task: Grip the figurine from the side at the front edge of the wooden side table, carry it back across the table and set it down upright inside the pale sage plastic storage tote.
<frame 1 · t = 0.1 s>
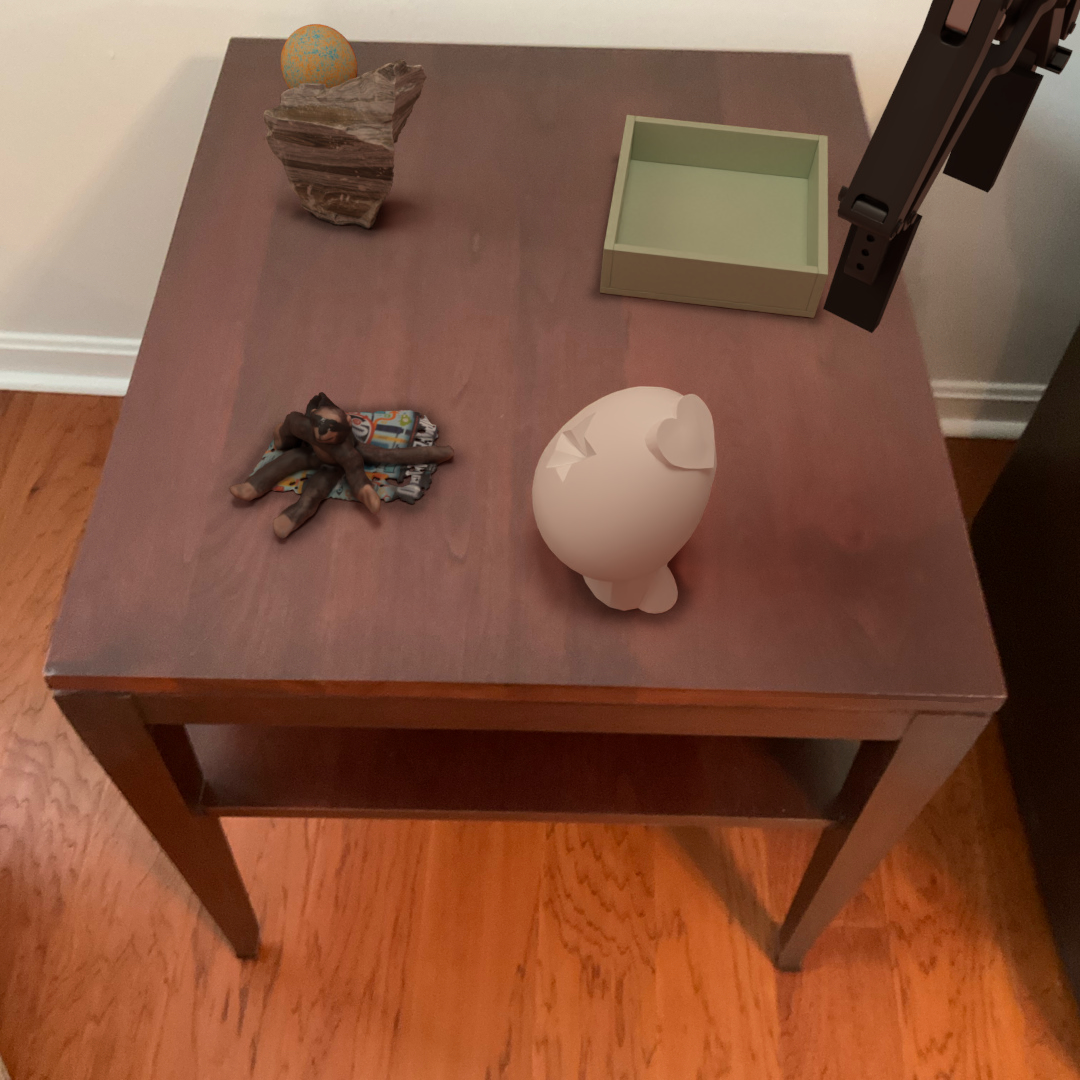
hand: (912, 244, 53), 24 cm above the table, tool pointing down, fingers open, 13 cm apart
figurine: (611, 549, 71), on the table
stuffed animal: (343, 472, 74), on the table
tote: (712, 234, 89), on the table
rock: (358, 211, 90), on the table
ball: (325, 101, 99), on the table
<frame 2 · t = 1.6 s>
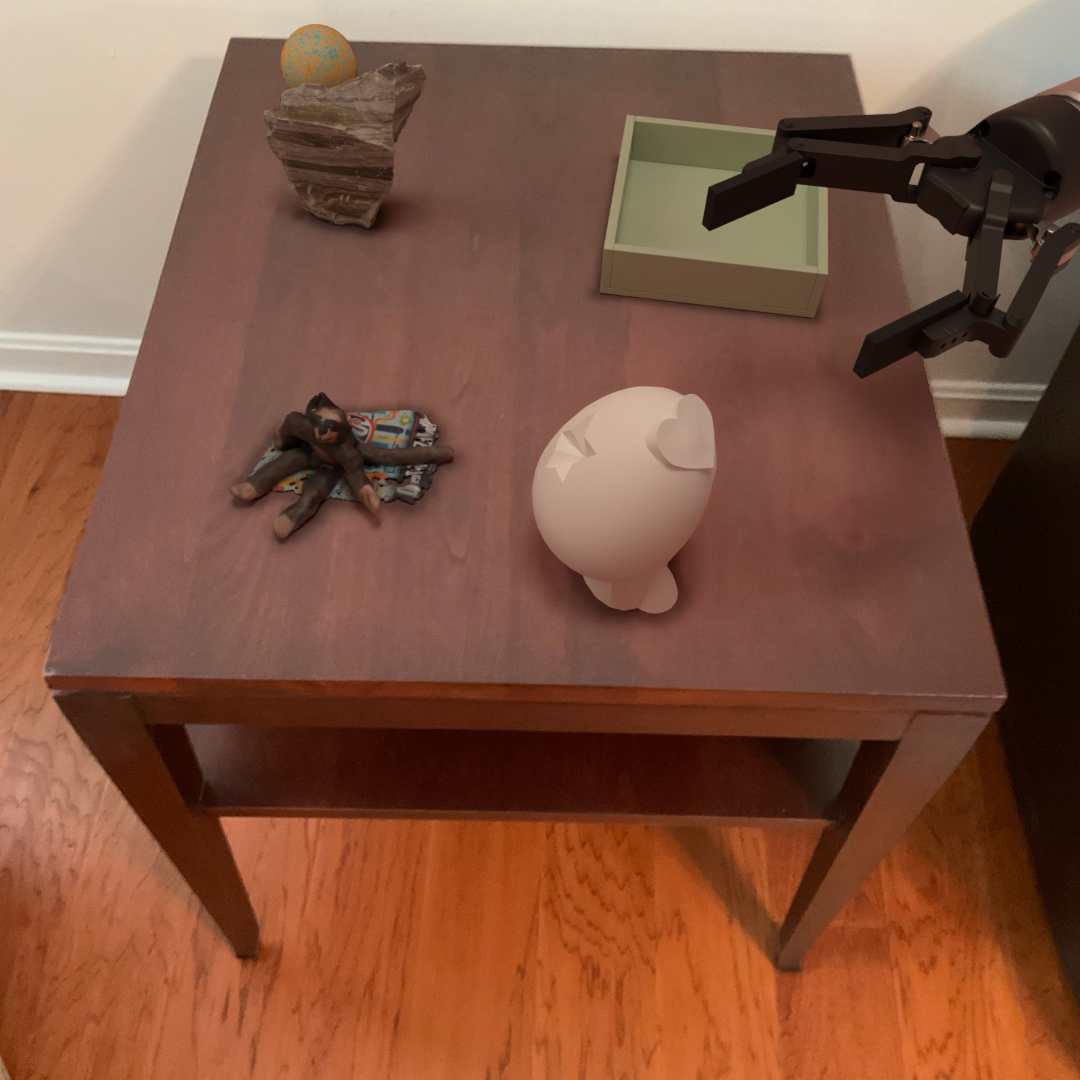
hand: (781, 279, 57), 20 cm above the table, tool horizontal, fingers open, 13 cm apart
nothing on the table moved.
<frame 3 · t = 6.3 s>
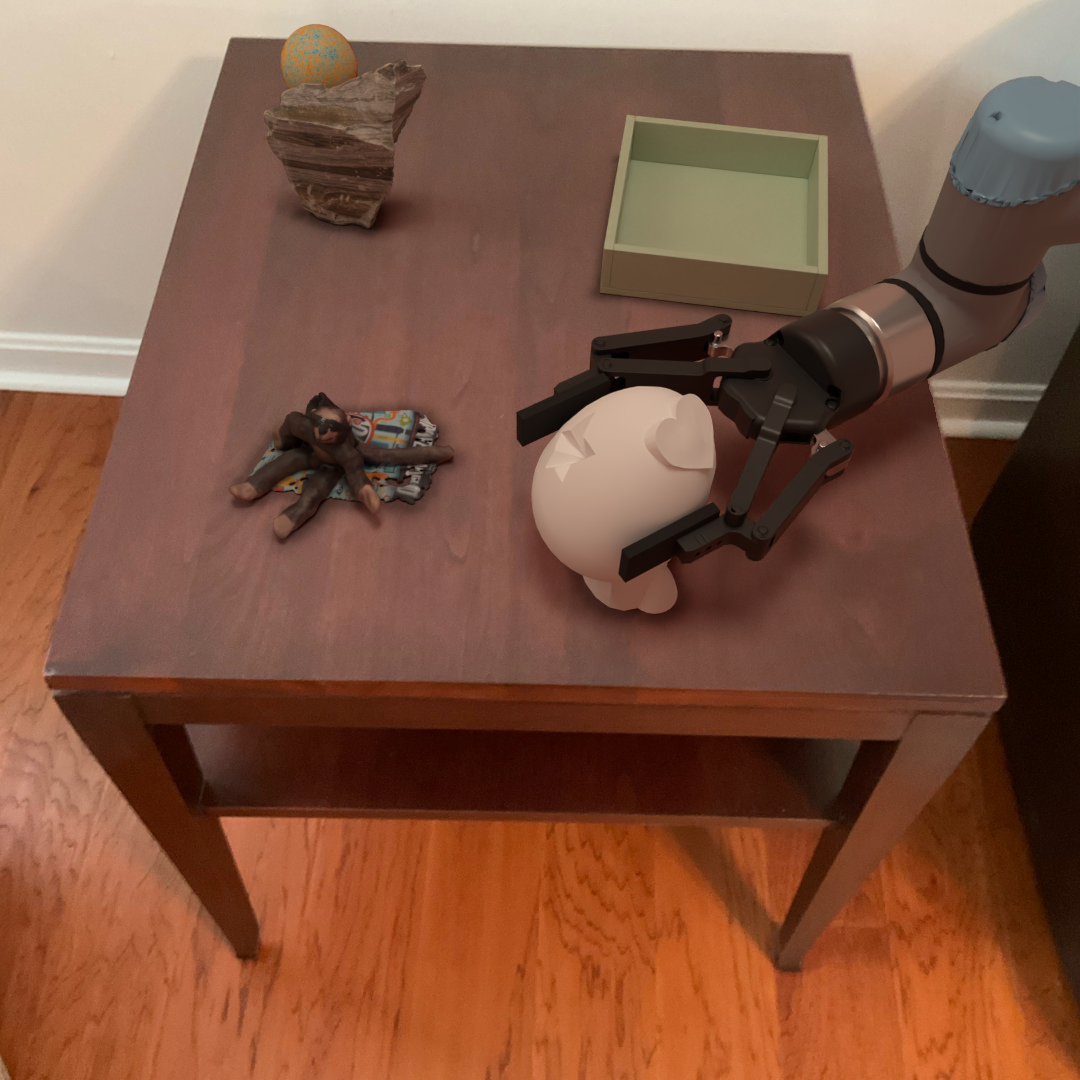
hand: (568, 495, 62), 9 cm above the table, tool horizontal, fingers closed on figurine, 11 cm apart
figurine: (611, 549, 71), on the table, touching gripper
everything else where it was.
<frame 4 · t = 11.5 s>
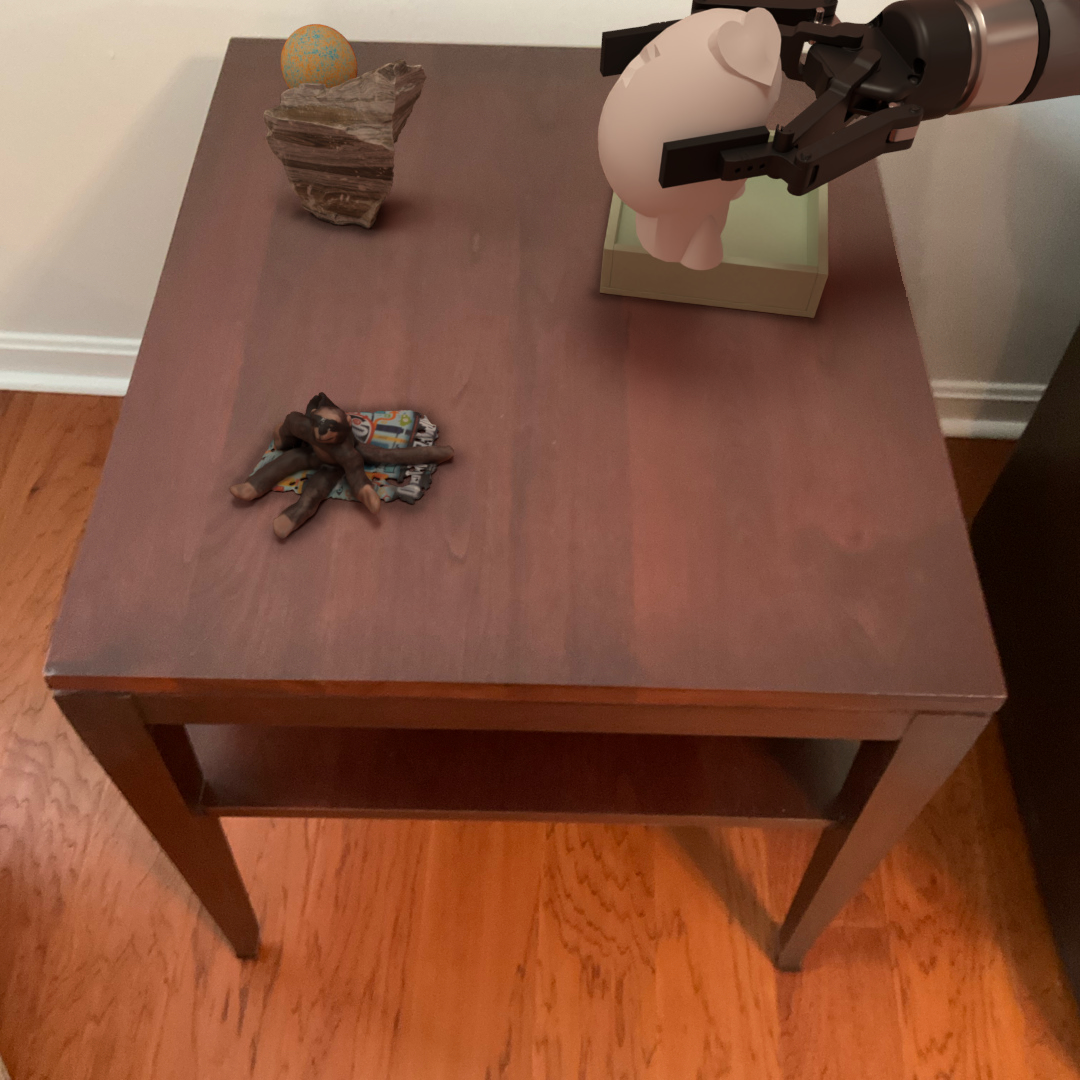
hand: (630, 107, 65), 21 cm above the table, tool horizontal, fingers closed on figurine, 11 cm apart
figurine: (671, 215, 73), point 11 cm above the table, touching gripper
everything else where it was.
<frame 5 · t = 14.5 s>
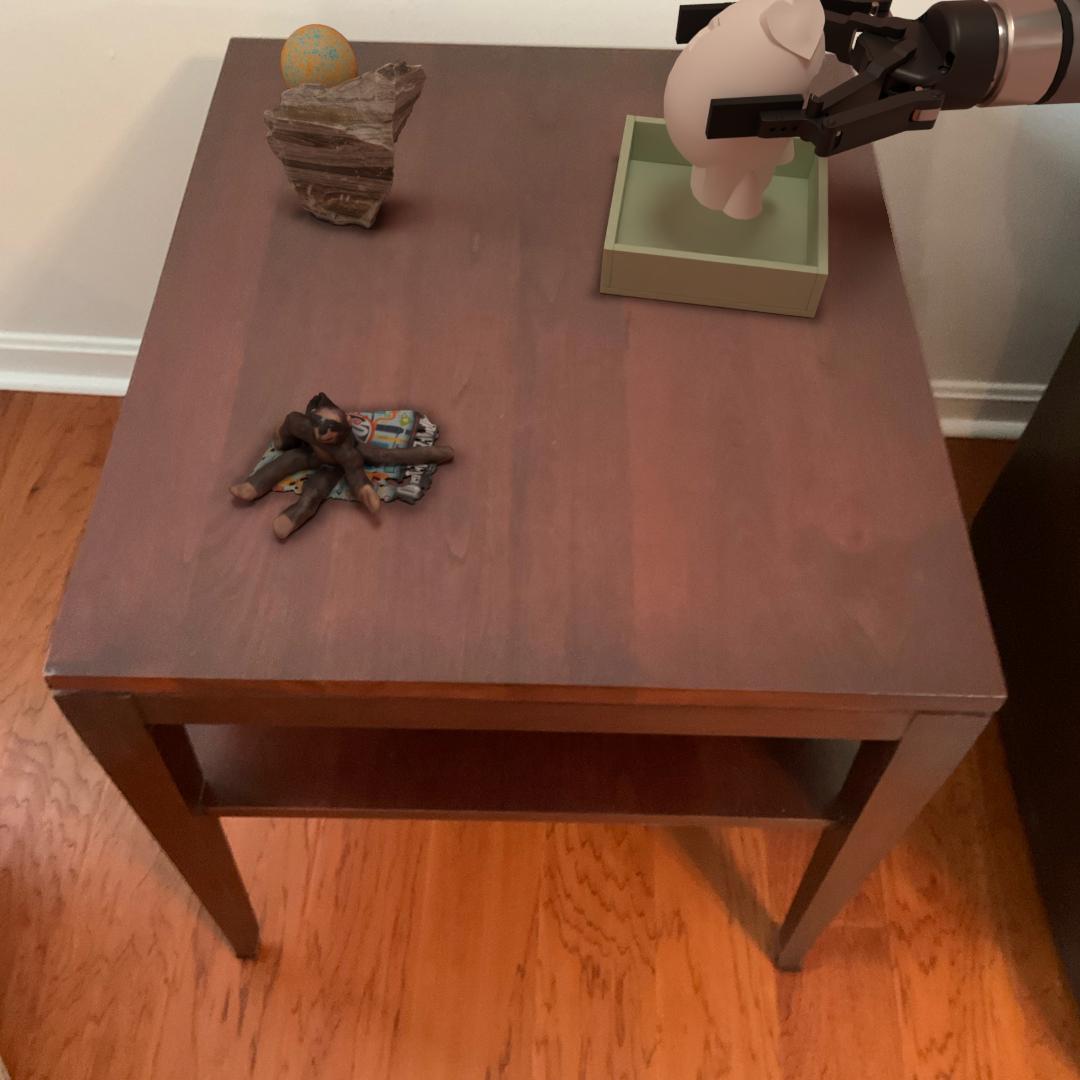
hand: (692, 70, 76), 16 cm above the table, tool horizontal, fingers closed on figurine, 11 cm apart
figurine: (723, 172, 84), point 6 cm above the table, touching gripper
everything else where it was.
when the fingers open (10 cm above the table, at t = 16.8 s): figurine stays where it is, resting on tote.
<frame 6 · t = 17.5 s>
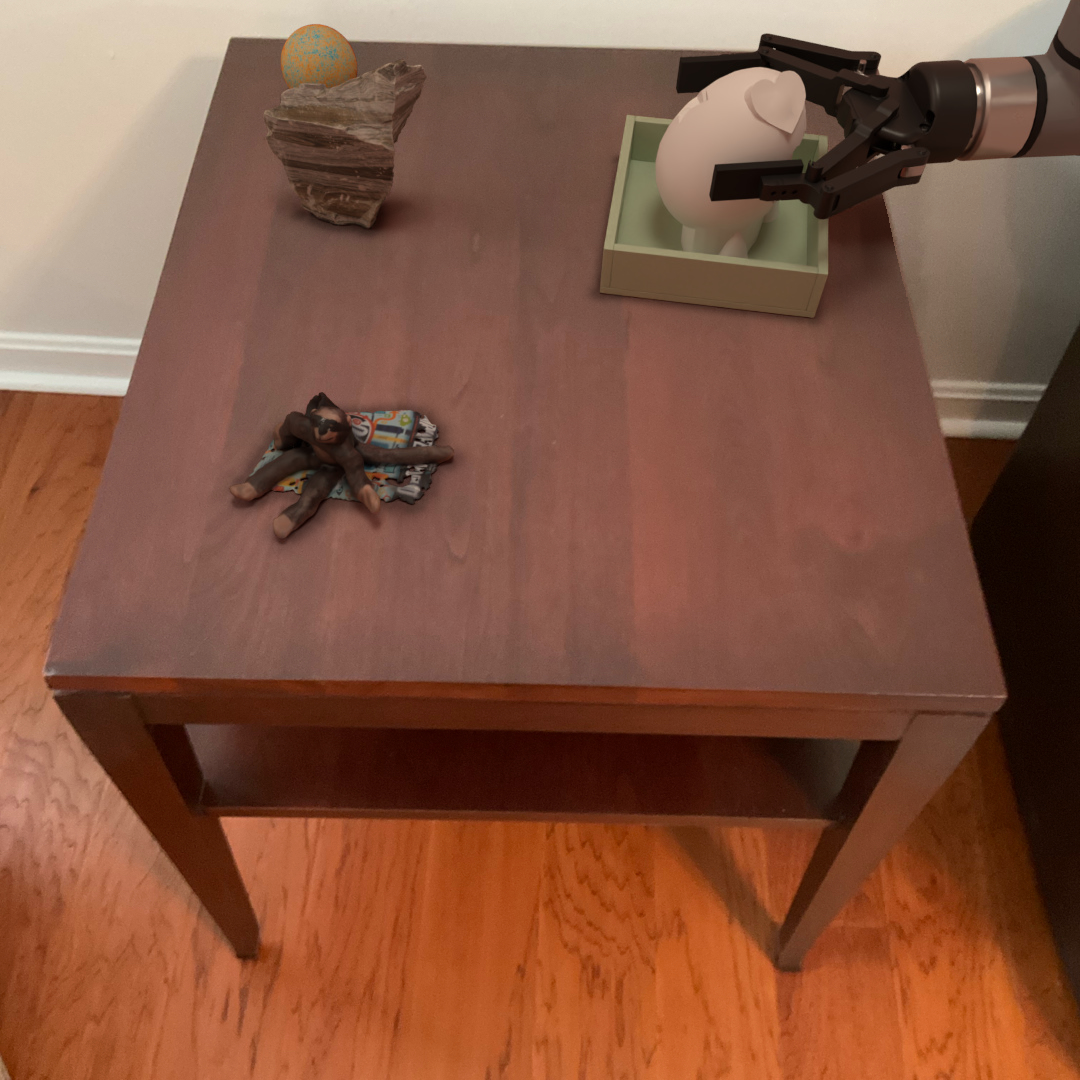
hand: (694, 126, 79), 11 cm above the table, tool horizontal, fingers open, 13 cm apart
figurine: (712, 229, 88), point 1 cm above the table, touching tote
everything else where it was.
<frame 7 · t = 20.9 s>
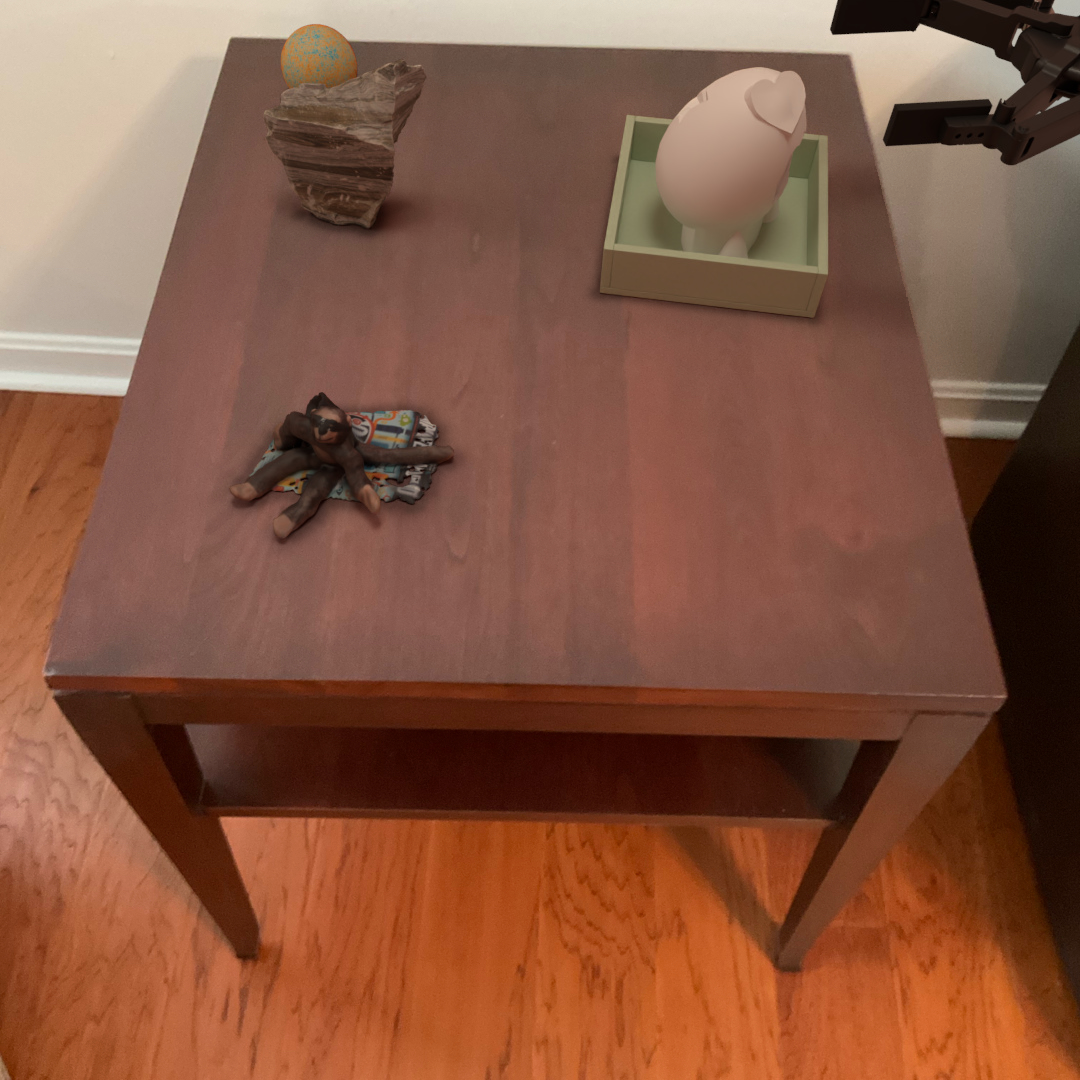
hand: (860, 67, 73), 17 cm above the table, tool horizontal, fingers open, 13 cm apart
nothing on the table moved.
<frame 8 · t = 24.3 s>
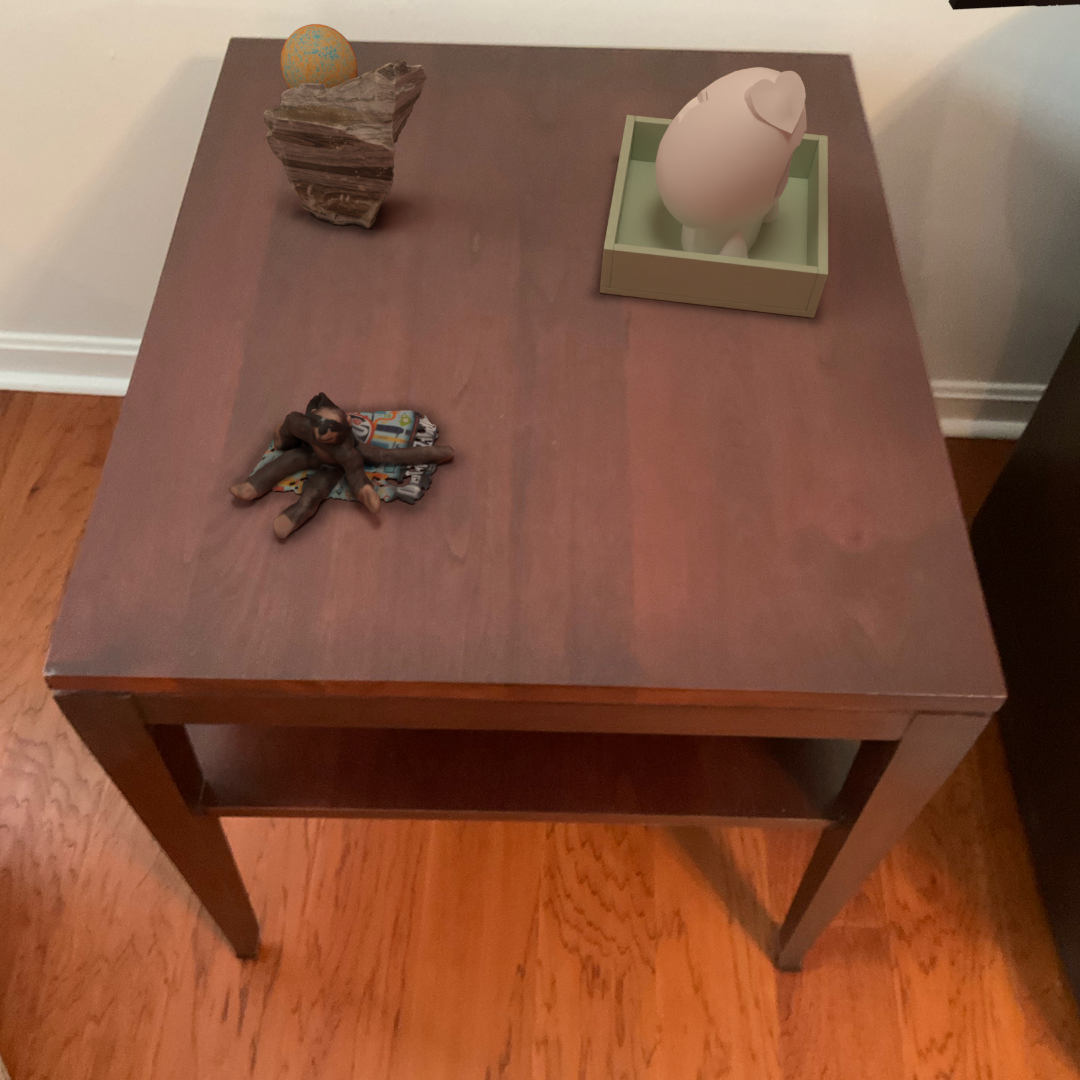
nothing on the table moved.
at the end: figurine inside the target area in the tote (0.1 cm from its centre), point 0.5 cm above the tote's base; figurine tilted 0°; the gripper is holding nothing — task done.
